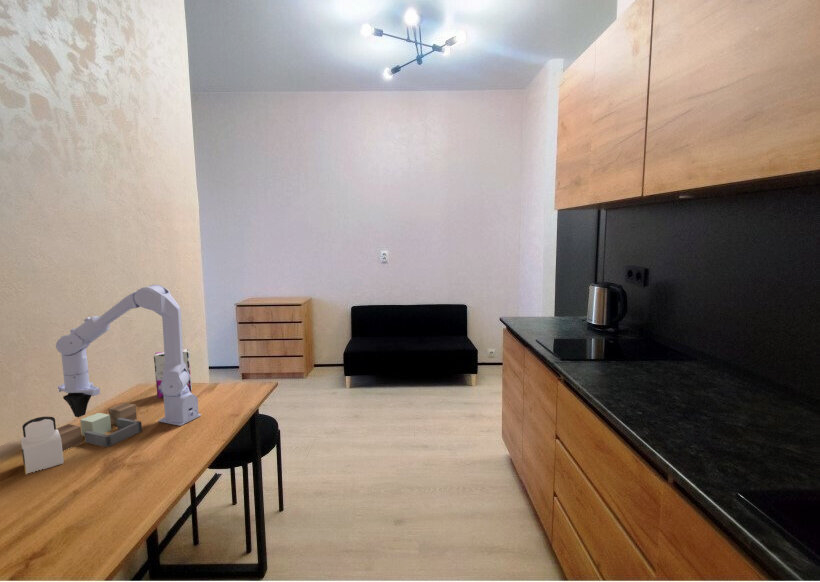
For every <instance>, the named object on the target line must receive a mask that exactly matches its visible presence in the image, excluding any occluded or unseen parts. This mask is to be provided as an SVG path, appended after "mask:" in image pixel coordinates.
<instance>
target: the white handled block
mask: <svg viewBox="0 0 820 582" xmlns="http://www.w3.org/2000/svg"><path fill="white" fill-rule="evenodd" d="M56 426H57V424H56V418H55V417H54V416H40V417H35V418H33V419H29V420H28V421H26V422H24V423H23V424H22V434H23V437H22V438H20V443H21V444H20V447H21V452H22V455H21V456H22V461H23V469H24V475H28V474H27V473H30V472H33V473H36V472H35V471H37V472H39V471H38V470H40V471H43V470H46V469H50V468H53V467H57V466H58V465H59V466H60V465H62V464H64V462H65V461H64V453H63V452H64V451H62V442H61V437H60V434H59V431H58V430H57V427H56ZM42 469H43V470H42ZM30 474H31V473H30Z"/></svg>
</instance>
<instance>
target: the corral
mask: <svg viewBox="0 0 820 582" xmlns="http://www.w3.org/2000/svg"><path fill="white" fill-rule="evenodd" d="M116 426H117V429H118V430H116V431H114V432H111V433H109V434H107V433H104V434H101V433H97V432H92V431H86V432H84V433H85V436H84V442H85V443H88V444H92V445H96V446H100V447H105V448H109V447H112V446H114V445H115V444H118V443H120V442H123V441H124V440H127V439H128V438H131V437H133V436H134V435H135V436H136V434H139V433H141V432H143V426H142V421H141V420H130V419H125V418H118V419H117V425H116Z"/></svg>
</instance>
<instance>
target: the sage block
mask: <svg viewBox="0 0 820 582" xmlns="http://www.w3.org/2000/svg"><path fill="white" fill-rule="evenodd" d="M79 421H80V427H81V435H82V437H85V433H84V432H86V431H92V432H97V433H101V434H107V433H109V432H111V431H112V424H111V421H110V415H109V413H102V412H96V413H94V414H92V415H89V416H86V417H84V418H83V417H82V418H80V420H79Z"/></svg>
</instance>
